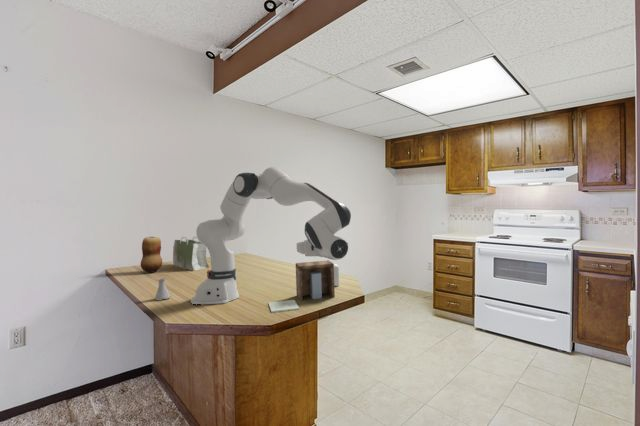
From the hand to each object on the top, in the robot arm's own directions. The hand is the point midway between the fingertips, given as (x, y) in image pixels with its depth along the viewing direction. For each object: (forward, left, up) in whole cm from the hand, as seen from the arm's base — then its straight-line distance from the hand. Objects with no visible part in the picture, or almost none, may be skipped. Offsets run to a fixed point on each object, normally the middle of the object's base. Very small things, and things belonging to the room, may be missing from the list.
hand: (315, 244), depth 139 cm
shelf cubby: (+2, +13, -27) cm, 30 cm away
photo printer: (+14, +29, -28) cm, 42 cm away
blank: (+2, +12, -27) cm, 30 cm away
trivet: (-15, +4, -27) cm, 31 cm away
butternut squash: (-93, +110, -28) cm, 146 cm away
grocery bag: (-68, +118, -28) cm, 139 cm away
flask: (-71, +37, -28) cm, 84 cm away
